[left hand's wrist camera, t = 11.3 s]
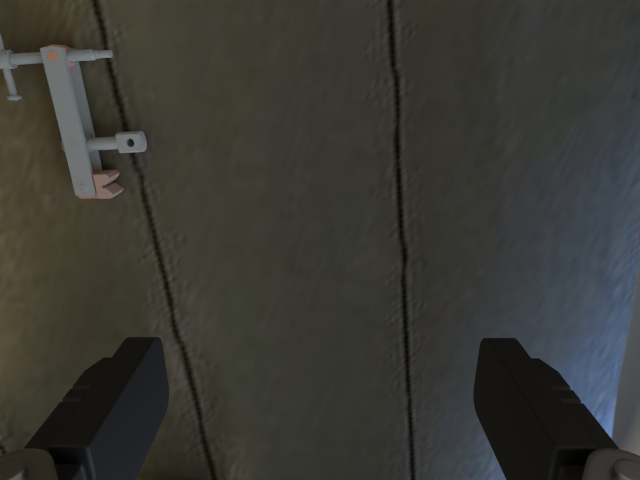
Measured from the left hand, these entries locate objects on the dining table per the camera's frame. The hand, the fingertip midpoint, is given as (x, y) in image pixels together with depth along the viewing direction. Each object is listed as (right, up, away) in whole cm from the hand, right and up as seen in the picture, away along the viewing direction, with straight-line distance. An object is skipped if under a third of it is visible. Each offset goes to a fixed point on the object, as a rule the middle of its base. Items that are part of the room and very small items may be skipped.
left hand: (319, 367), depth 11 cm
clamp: (-19, +14, +25) cm, 34 cm away
